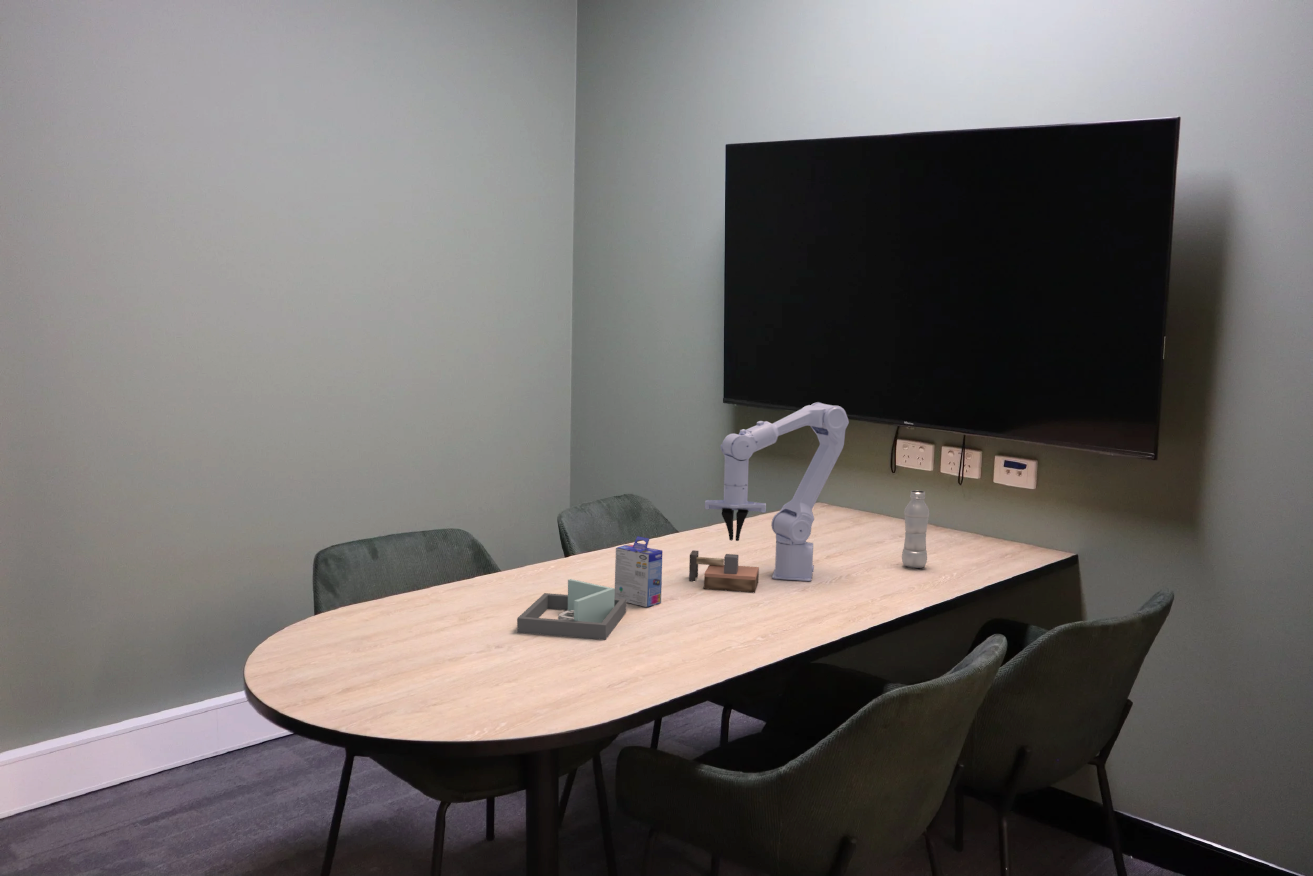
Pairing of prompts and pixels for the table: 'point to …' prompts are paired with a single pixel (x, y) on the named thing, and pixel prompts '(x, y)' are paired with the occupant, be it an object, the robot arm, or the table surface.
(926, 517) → the plastic bottle
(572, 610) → the l-shaped corner panel
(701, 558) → the tan rectangular bar
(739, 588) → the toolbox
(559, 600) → the dark gray square frame
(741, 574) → the lid
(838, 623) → the table surface
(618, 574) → the ink cartridge box
